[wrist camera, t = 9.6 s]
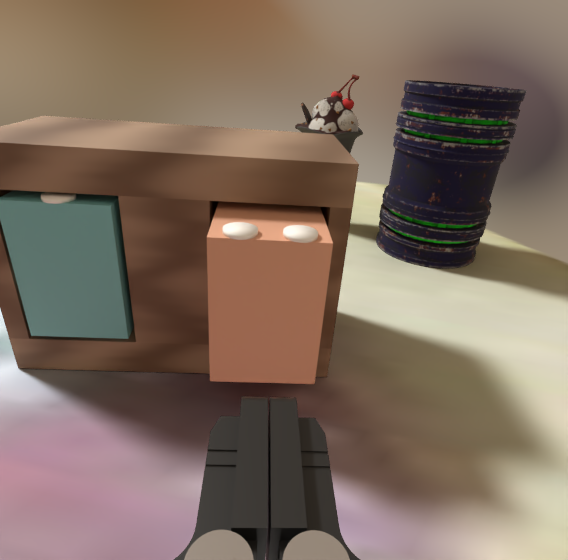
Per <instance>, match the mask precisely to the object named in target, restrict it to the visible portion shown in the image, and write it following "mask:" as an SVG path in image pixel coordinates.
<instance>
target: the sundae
mask: <svg viewBox="0 0 568 560" xmlns="http://www.w3.org/2000/svg"><path fill="white" fill-rule="evenodd" d="M352 79H355V80H354V81H353V82H352V84H353V83H354V82H355V81H356V80H358V79H359V76H356V75H352V78H351V79H350V80H352ZM350 80H349V81H348V82H347V83H346V85H347V84H348V83H349V82H350ZM352 84H351V85H350V87H349V90H348V98H346V99H344V100H342V94H341V93H340V92H341V91H342V89H343V88H344V87H345V86H346V85H344V86H343V87H342V88H341V89H340V90H339V91H335V92H332V94H331V97H328V98H325V99H323V100H321V101H320V102H319V103H317V104H316V105H315V106H314V109H313V113H312V118H311V116H310V113H309V111H308V109H307V108H306V106H305V105H304V103H302V104H301V106H302V109H303V112H304V115H305V118H306V121H307V122H304V123H301V124H297V125H296V127H295V128H296V129H298V130H300V131H301V132H302V133H317V134H332V135H334V136H335V137H336V138H337V140H338V141H339V142H340V143H341V144H342V145H343V147H344V148H345V149H346V150H347V151H348V152H349V153H350V152H351V149H352V146H353V143H354V140H355V139H356V138H357V137H358V136H360V135H362V134H363V132H362V131H361V129H360V128H358V120H357V118H356V116H355V114H354V113H353V112H352V111H351V109H352V108H353V106H354V102H353V101H352V100H351V99H350V88H351V86H352Z"/></svg>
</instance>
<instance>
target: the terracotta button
mask: <svg viewBox="0 0 568 560" xmlns="http://www.w3.org/2000/svg"><path fill="white" fill-rule="evenodd" d="M332 248H333V241H332V239H331V236H330V233H329V230H328V227H327V225H326V222H325V219H324V216H323V213H322V211H321V208H320V207H318V206H299V205H281V204H262V203H243V202H225V201H219V202H218V205H217V208H216V211H215V214H214V217H213V220H212V223H211V226H210V229H209V232H208V235H207V274H208V319H209V364H210V381H218V382H256V383H294V384H315V377H316V369H317V362H318V354H319V347H320V339H321V332H322V324H323V316H324V309H325V301H326V294H327V286H328V279H329V271H330V264H331V256H332Z"/></svg>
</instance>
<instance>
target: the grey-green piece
mask: <svg viewBox="0 0 568 560" xmlns="http://www.w3.org/2000/svg"><path fill="white" fill-rule="evenodd" d="M0 221H1V225H2V228H3V232H4V236H5V240H6V243H7V247H8V251H9V255H10V258H11V262H12V266H13V270H14V273H15V277H16V281H17V285H18V288H19V292H20V296H21V300H22V303H23V307H24V311H25V315H26V318H27V322H28V326H29V330H30V333H31V336H56V337H87V338H117V339H128V338H129V336H130V334H131V332H132V330H133V328H134V321H133V313H132V305H131V296H130V288H129V280H128V272H127V264H126V256H125V248H124V240H123V232H122V224H121V215H120V207H119V199H118V196H113V195H94V194H76V193H57V192H38V191H20V190H13V191H11V192H9V193H7V194H5V195H3V196H1V197H0Z"/></svg>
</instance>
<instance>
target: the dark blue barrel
mask: <svg viewBox="0 0 568 560" xmlns="http://www.w3.org/2000/svg"><path fill="white" fill-rule="evenodd" d="M404 91H405V95H404V98H403V99H402V102H401V108H402V109H405V110H407V111H401V112H399V113H398V117H397V123H396V125H397V126H399V127H401V128H397V129H396V133H395V136H394V144H393V145H394V147H395V155H394V160H393V165H392V171H391V176H390V181H389V185H388V186H387V187H386V188H385V191H384V194H383V203H382V205H381V210H380V216H379V217H380V222H379V228H380V230H379V232H378V234H377V238H376V243H377V245H378V246H379V248H380V249H381V250H383V251H384V252H385V253H387V254H389V255H391V256H392V257H395V258H397V259H399V260H402V261H405V262H408V263H412V264H415V265H420V266H425V267H432V268H458V267H463V266H467V265H469V264H470V263H472V262H473V260H474V258H475V254H476V251H475V248H476V247H477V246H478V244H479V241H480V237H482V235H483V233H484V230H485V226H486V220H487V218H488V215H489V214H490V209H491V203H490V201H489V200H490V197H491V193H492V190H493V187H494V184H495V180H496V177H497V174H498V170H499V167H500V164H501V163H502V162H503V161H504V160H505V159H506V156H507V153H508V152H509V146H510V142H509V141H508V140H509V139H512V138H513V137H514V136H513V135H514V133H515V130H516V129H515V128H516V127H517V125H516V124H515V123H512V122H508V121H513V120H517V119H518V116H519V112H520V110H519V106H520V103H521V102H522V101H523V99H524V96H525V93H526V90H519V89H512V88H511V89H510V88H502V87H492V86H481V85H469V84H457V83H443V82H430V81H411V80H406V81H405V86H404Z"/></svg>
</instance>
